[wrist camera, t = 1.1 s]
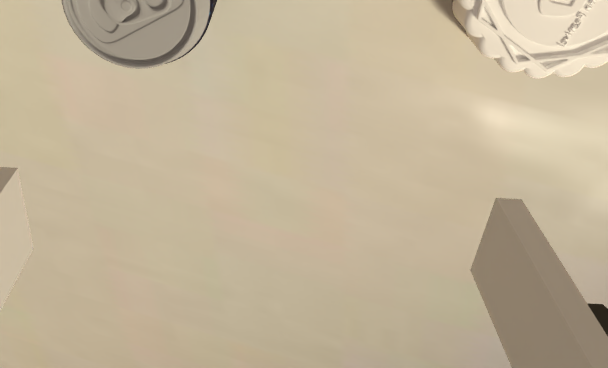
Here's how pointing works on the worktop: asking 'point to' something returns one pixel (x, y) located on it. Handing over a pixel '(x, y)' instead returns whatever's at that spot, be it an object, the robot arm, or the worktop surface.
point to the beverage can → (139, 28)
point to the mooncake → (538, 33)
